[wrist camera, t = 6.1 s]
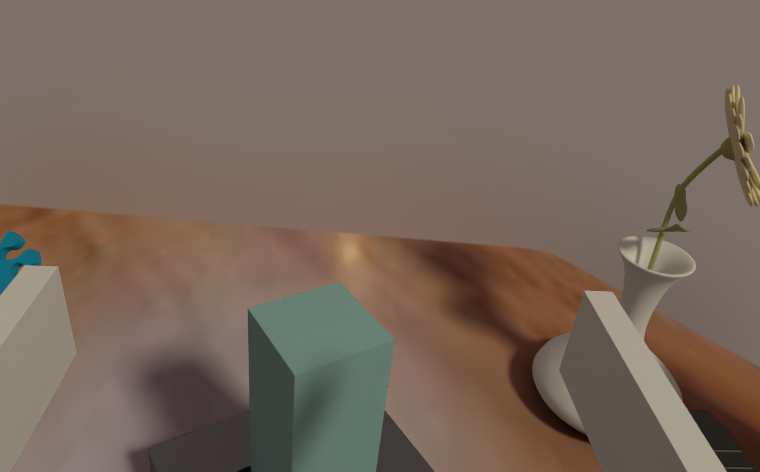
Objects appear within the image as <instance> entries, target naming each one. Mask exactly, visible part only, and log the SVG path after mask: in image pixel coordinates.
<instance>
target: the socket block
mask: <svg viewBox="0 0 760 472" xmlns="http://www.w3.org/2000/svg"><path fill="white" fill-rule="evenodd" d="M148 452H149V459H150V466H151V472H251V454H250V411H247V412H245V413H242V414H239V415H236V416H234V417H231V418H228V419H226V420H223V421H220V422H218V423H215V424H212V425H210V426H207V427H204V428H202V429H199V430H196V431H194V432H191V433H188V434H186V435H183V436H180V437H178V438H175V439H172V440H170V441H167V442H164V443H162V444H159V445H156V446H154V447H151V448H148ZM376 472H434V470H433V469H432V468H431V467H430V466H429V464H428V463H427V462H426V461H425V459H424V458H423V457H422V456H421V454H420V453H419V452H418V451H417V449H416V448H415V447H414V446H413V445H412V443H411V442H410V441H409V440H408V438H407V437H406V436H405V435H404V433H403V432H402V431H401V430H400V428H399V427H398V426H397V425H396V424H395V422H394V421H393V420H392V419H391V417H390V416H389V415H388V414H387V412H386V411H385V410H384V417H383V424H382V431H381V439H380V446H379V453H378V460H377V467H376Z"/></svg>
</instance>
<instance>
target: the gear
mask: <svg viewBox="0 0 760 472" xmlns="http://www.w3.org/2000/svg"><path fill="white" fill-rule="evenodd" d="M24 245H25V240H24V239H23V238H22V237H21V236H20V235H19V234H17V233H15V232H12V231H9V232H7V233H6V234H5V236H4V238H3V240H2V242H1V243H0V295H1V294H2V293H3V292H4V290H5V289H6V288H7V287H8V285H9V284H10V283H11V282H12V280H13V279H14V278H15V277H16V276H17V274H18V269H19V268H20V267H21V266H22V265H32V266H40V265H41V256H40V253H39V252H38V251H35V250H32V249H28V250H26V251H24V252H23V253H22V254H21V255H20V256H18V257H16V258H14V259H10V260H6V256H7V253H8V252H9V251H11V250H18V249H21V248H22V247H23V246H24Z"/></svg>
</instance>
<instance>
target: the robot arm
mask: <svg viewBox="0 0 760 472" xmlns="http://www.w3.org/2000/svg"><path fill="white" fill-rule="evenodd" d="M76 354H77V353H76V349H75V344H74V339H73V334H72V330H71V325H70V320H69V316H68V311H67V306H66V301H65V297H64V292H63V287H62V283H61V278H60V273H59V268H58V267H54V266H32V265H25V266H24V267H23V268H22V269H21V271H20V272H19V273H18V274H17V276H16V277H15V278H14V279H13V280H12V282H11V283H10V284H9V285H8V287H7V288H6V289H5V290H4V292H3V293H2V294H1V295H0V472H11V471H12V469H13V467H14V466H15V464H16V462H17V460H18V458H19V457H20V455H21V453H22V451H23V449H24V448H25V446H26V444H27V442H28V440H29V439H30V437H31V435H32V433H33V431H34V430H35V428H36V426H37V424H38V422H39V421H40V419H41V417H42V415H43V413H44V412H45V410H46V408H47V406H48V404H49V403H50V401H51V399H52V397H53V395H54V394H55V392H56V390H57V388H58V386H59V385H60V383H61V381H62V379H63V377H64V376H65V374H66V372H67V370H68V368H69V367H70V365H71V363H72V361H73V359H74V358H75V356H76ZM559 371H560V374H561V376H562V378H563V380H564V383H565V385H566V387H567V390H568V392H569V394H570V397H571V399H572V401H573V404H574V406H575V408H576V411H577V413H578V415H579V418H580V420H581V422H582V425H583V427H584V429H585V432H586V434H587V436H588V439H589V441H590V443H591V446H592V448H593V450H594V453H595V455H596V457H597V460H598V462H599V464H600V467H601V469H602V471H603V472H757V471H754V470H753V466H752V464H751V463H750V461H749V460H748V458H747V457H746V455H745V454H742V452H741V448H740V447H739V445H738V444H737V442H736V441H735V439H734V438H733V436H732V435H731V434H730V432H729V431H728V429H727V428H726V427H725V426H723V425H722V424H721V423H720V422H719V421H718V420H717V419H715V418H714V417H713V416H712V415H711V414H710V413H708V412H707V411H706V410H687V408H686V407H685V405H684V404H683V402H682V400H681V399H680V397H679V396H678V394H677V393H676V391H675V389H674V388H673V386H672V385H671V383H670V382H669V380H668V378H667V377H666V375H665V374H664V372H663V371H662V369H661V367H660V366H659V364H658V363H657V361H656V360H655V358H654V356H653V355H652V353H651V352H650V350H649V349H648V347H647V345H646V344H645V342H644V341H643V339H642V338H641V336H640V334H639V333H638V331H637V330H636V328H635V327H634V325H633V323H632V322H631V320H630V319H629V317H628V316H627V314H626V312H625V311H624V309H623V308H622V306H621V304H620V303H619V301H618V300H617V298H616V297H615V295H614V293H613V292H603V291H584V293H583V296H582V299H581V302H580V305H579V308H578V312H577V315H576V318H575V321H574V324H573V327H572V330H571V334H570V337H569V340H568V343H567V346H566V349H565V352H564V356H563V359H562V362H561V365H560V368H559Z"/></svg>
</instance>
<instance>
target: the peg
mask: <svg viewBox="0 0 760 472" xmlns="http://www.w3.org/2000/svg"><path fill="white" fill-rule="evenodd" d="M248 346H249V400H250V454H251V472H376V467H377V460H378V453H379V446H380V439H381V431H382V424H383V417H384V410H385V403H386V396H387V389H388V382H389V374H390V367H391V360H392V353H393V346H394V339H393V338H392V337H391V336H390V335H389V334H388V333H387V332H386V330H385V329H384V328H383V327H382V326H381V325H380V324H379V323H378V322H377V321H376V320H375V319H374V318H373V317H372V316H371V314H370V313H369V312H368V311H367V310H366V309H365V308H364V307H363V306H362V305H361V304H360V303H359V302H358V301H357V299H356V298H355V297H354V296H353V295H352V294H351V293H350V292H349V291H348V290H347V289H346V288H345V287H344V286H343V285H342V283H341V282H338V283H335V284H331V285H328V286H324V287H321V288H317V289H314V290H310V291H307V292H303V293H300V294H296V295H293V296H289V297H286V298H282V299H278V300H275V301H271V302H268V303H264V304H261V305H257V306H254V307H250V308H248Z"/></svg>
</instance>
